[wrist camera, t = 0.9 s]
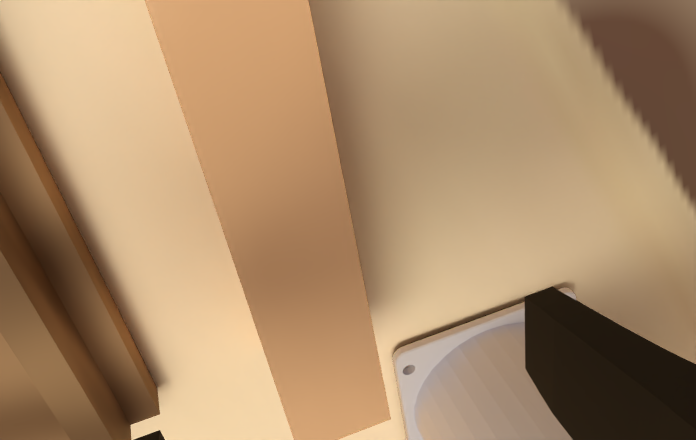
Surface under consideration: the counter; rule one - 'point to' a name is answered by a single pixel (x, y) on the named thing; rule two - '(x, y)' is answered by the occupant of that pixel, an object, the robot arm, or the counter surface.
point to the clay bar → (279, 200)
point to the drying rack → (57, 313)
